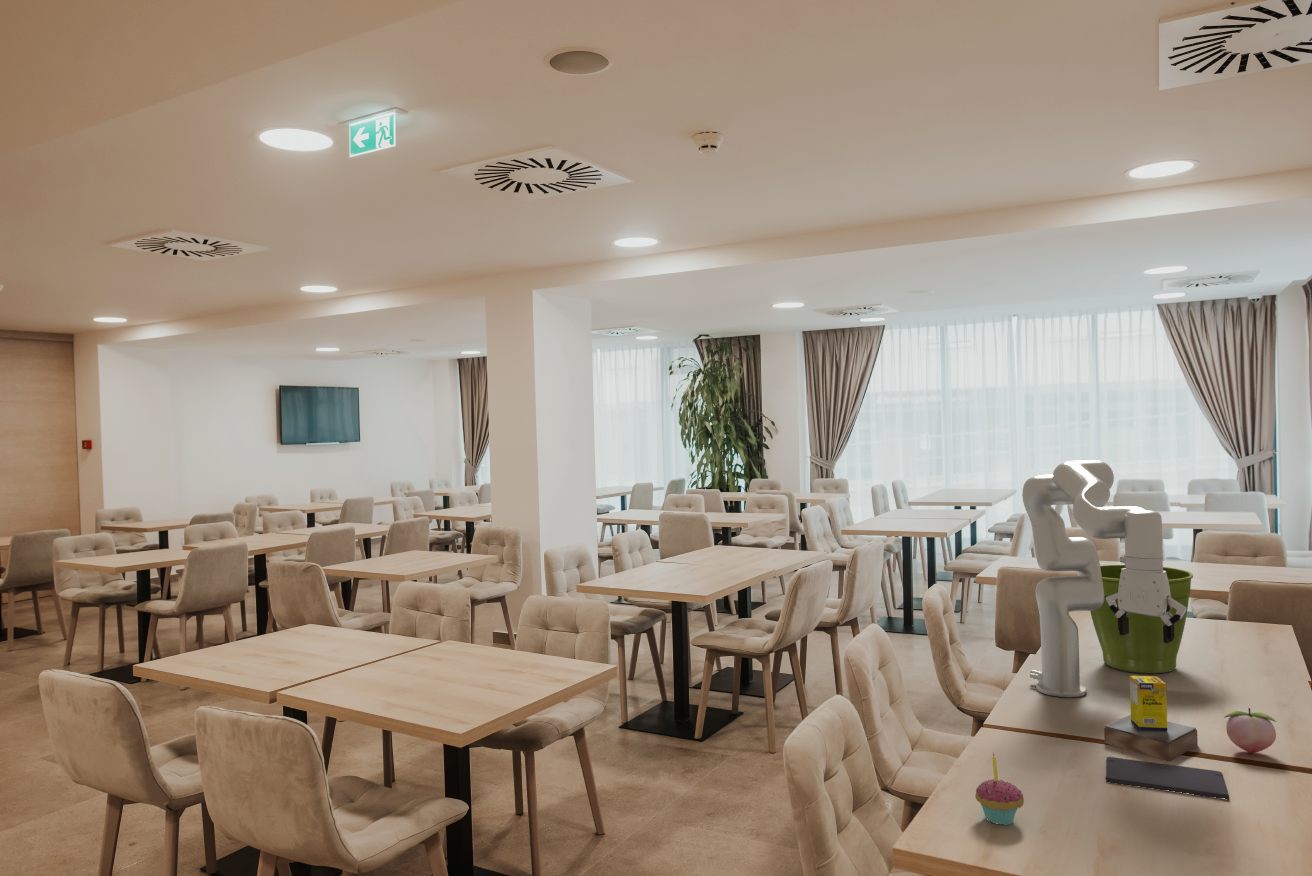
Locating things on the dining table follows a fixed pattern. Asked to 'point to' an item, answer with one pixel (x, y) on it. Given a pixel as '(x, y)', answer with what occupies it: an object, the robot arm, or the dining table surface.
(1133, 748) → the dock
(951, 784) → the dining table surface
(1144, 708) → the supplement box
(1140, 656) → the plant pot
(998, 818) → the cupcake
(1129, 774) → the notebook
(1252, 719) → the decorative fruit
